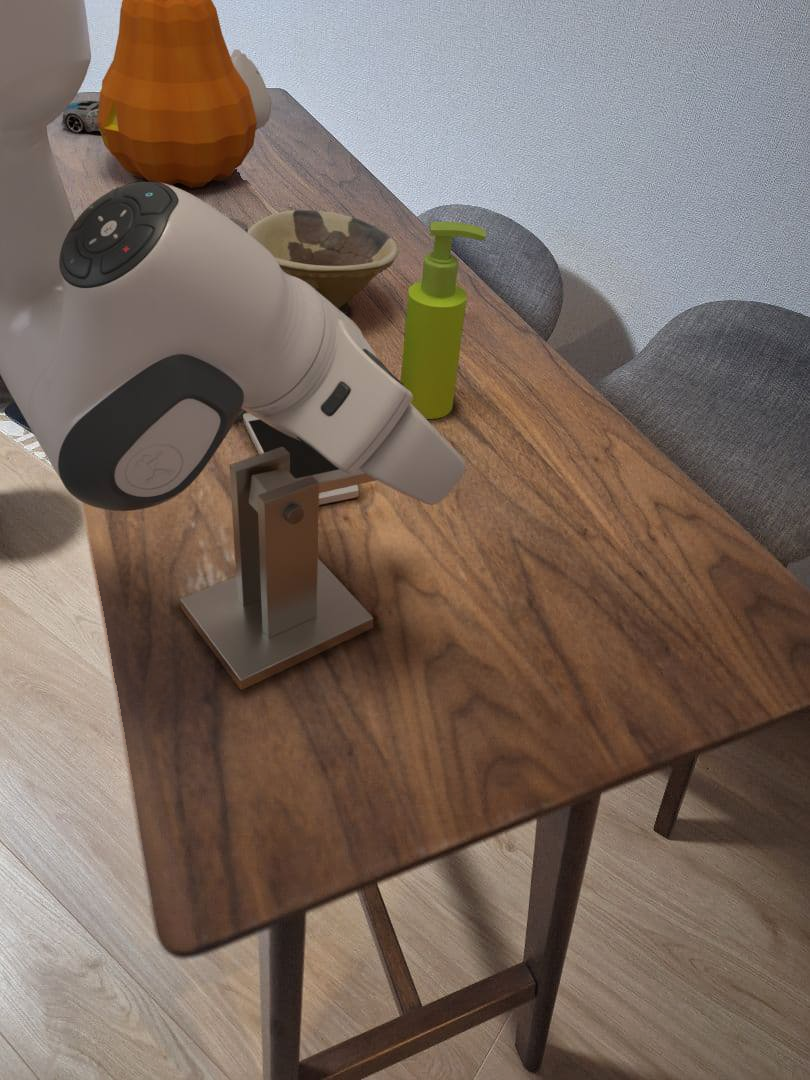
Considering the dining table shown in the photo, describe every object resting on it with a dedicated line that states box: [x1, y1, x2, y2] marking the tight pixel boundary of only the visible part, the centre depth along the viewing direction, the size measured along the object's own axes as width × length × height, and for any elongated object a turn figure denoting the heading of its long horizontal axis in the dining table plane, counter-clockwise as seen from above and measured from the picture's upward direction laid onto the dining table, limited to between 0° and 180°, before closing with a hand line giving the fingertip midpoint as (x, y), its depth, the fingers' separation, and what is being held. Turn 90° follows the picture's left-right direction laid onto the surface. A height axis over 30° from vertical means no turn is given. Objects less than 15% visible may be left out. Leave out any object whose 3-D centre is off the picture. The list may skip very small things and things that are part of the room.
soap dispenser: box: [400, 221, 487, 420], centre depth 93 cm, size 6×7×20 cm
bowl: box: [248, 209, 399, 315], centre depth 111 cm, size 18×18×10 cm
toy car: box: [61, 99, 100, 134], centre depth 154 cm, size 8×17×5 cm, turn 80°
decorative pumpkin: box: [97, 0, 257, 189], centre depth 134 cm, size 24×24×30 cm
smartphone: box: [242, 412, 360, 506], centre depth 90 cm, size 7×15×1 cm, turn 23°
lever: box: [248, 469, 377, 512], centre depth 69 cm, size 15×4×4 cm, turn 126°
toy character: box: [230, 48, 273, 130], centre depth 159 cm, size 10×10×12 cm
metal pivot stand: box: [179, 447, 374, 691], centre depth 69 cm, size 12×10×15 cm
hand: (406, 441), depth 71 cm, fingers closed, pressing on lever
